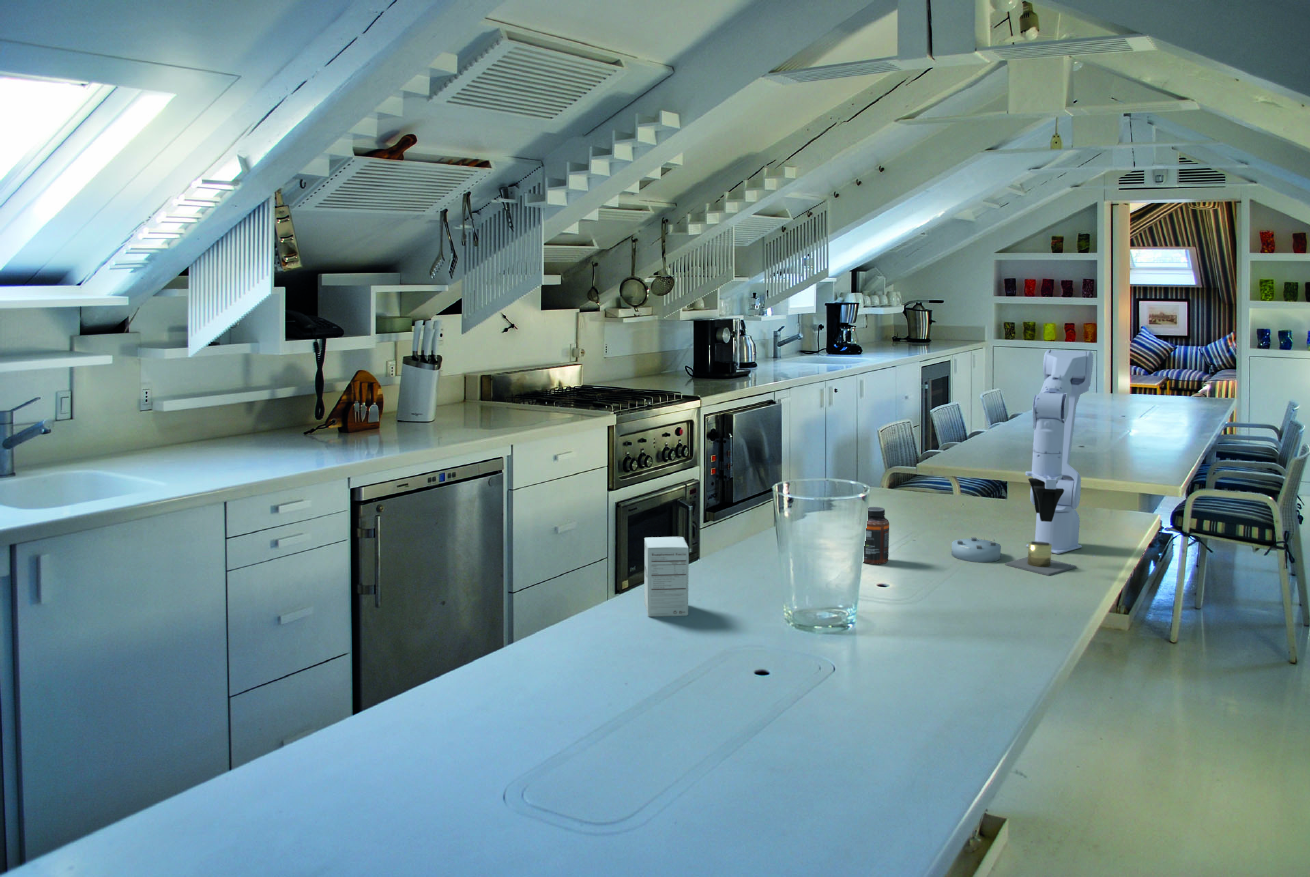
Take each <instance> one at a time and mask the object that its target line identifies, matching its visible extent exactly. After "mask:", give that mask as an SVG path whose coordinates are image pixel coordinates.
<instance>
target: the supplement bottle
mask: <svg viewBox="0 0 1310 877" xmlns="http://www.w3.org/2000/svg"><path fill="white" fill-rule="evenodd" d="M867 508H868V507H867ZM885 515H886V510H885V508H884V507H880V506H869V508H868V521H867V528H866V541H865V546H864V562H863V563H864V564H867V565H868V564H870V565H885V563H888V561H889V557H890V556H889V555H890V554H889V547H890V545H889V544H890V522H889V519H887V518H886V516H885Z"/></svg>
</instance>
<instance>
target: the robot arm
mask: <svg viewBox="0 0 1310 877" xmlns="http://www.w3.org/2000/svg"><path fill="white" fill-rule="evenodd" d="M1042 363H1043V364H1042V373H1043V384H1042V386H1041V389H1040V391H1039V392H1038V394H1034V396H1033V399H1032V408H1031V411H1032V412H1031V413H1032V429H1033V441H1032V442H1033V445H1032V458H1031V459H1032V462H1031V471H1030V470H1029V471H1028V470H1026V471H1025V474H1024V475H1025V476H1027V477H1028V482H1029V484H1030V491H1029V493H1030V494H1029V495H1030V497H1029V500H1030V502H1031V504H1032V505H1033V506H1034V509H1035V513H1036V515H1035V516H1036V520H1035V532H1034V534H1035V535H1034V541H1040V542H1047V543H1050V544H1051V545H1052V550H1051V554H1052V553H1053V554H1058V555H1060V554H1063V553H1066V552H1070V551H1073V550H1074V551H1075V550H1077V549H1081V548H1083V547H1082V545H1081V544H1079V539H1080V538H1079V537H1080V522H1081V520H1080V518H1081V517H1080V516H1079V513H1078V511H1077V510H1076V509H1077V508H1079V505H1080V501H1081V494H1082V492H1081V490H1082V489H1081V488H1082V486H1081V485H1082V477H1081V475H1080V473H1079V472H1078V470H1077V469H1075V468H1074V467H1072V466H1071V465H1070V463H1071V453H1072V444H1073V436H1074V427H1075V419H1076V412H1077V405H1078V402H1079V399H1080V397H1081V395H1083V394H1085V393H1087V392H1089V390H1090V387H1091V381H1092V374H1093V367H1094V354H1093V352H1092V351H1091V350H1086V351H1085V350H1082V351H1081V350H1080V351H1079V350H1059V349H1057V350H1056V349H1054V350H1052V349H1050V348H1049V349H1047V350H1046V351H1045V352H1044V355H1043V362H1042ZM1029 477H1031V478H1029ZM1028 544H1029V543H1028ZM1028 544H1027V543H1026V545H1025V547H1027V548H1028Z"/></svg>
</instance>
